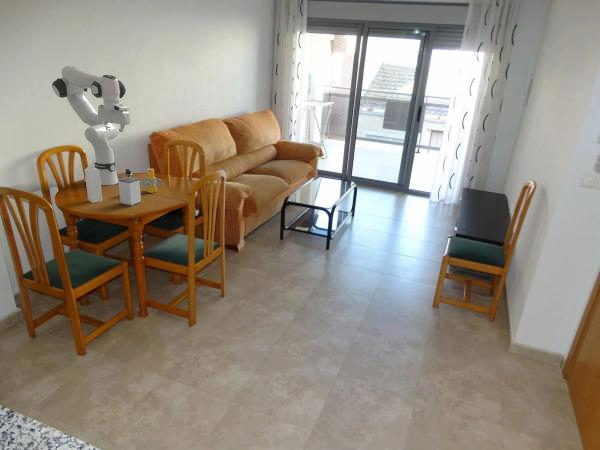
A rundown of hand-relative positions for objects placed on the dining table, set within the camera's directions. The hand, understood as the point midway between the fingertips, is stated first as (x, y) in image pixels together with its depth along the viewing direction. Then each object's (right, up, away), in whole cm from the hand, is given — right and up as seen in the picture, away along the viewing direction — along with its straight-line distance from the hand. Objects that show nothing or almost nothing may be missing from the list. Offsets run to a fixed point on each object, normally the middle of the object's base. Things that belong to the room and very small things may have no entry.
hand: (114, 131), depth 236 cm
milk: (-16, -40, +9) cm, 44 cm away
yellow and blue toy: (+10, -32, +33) cm, 47 cm away
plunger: (+5, -40, +9) cm, 41 cm away
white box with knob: (+6, -40, +11) cm, 42 cm away
